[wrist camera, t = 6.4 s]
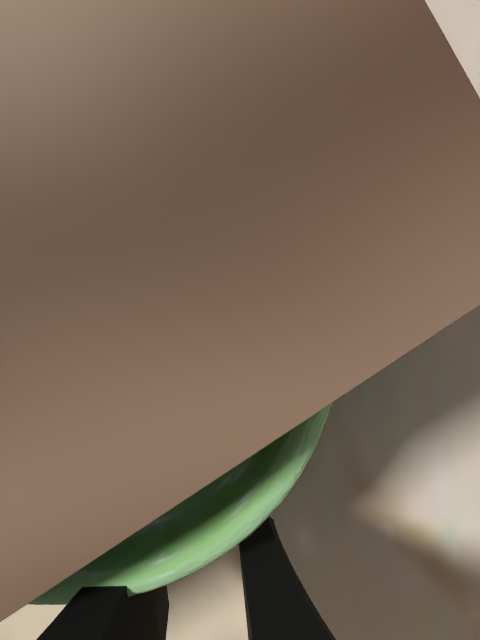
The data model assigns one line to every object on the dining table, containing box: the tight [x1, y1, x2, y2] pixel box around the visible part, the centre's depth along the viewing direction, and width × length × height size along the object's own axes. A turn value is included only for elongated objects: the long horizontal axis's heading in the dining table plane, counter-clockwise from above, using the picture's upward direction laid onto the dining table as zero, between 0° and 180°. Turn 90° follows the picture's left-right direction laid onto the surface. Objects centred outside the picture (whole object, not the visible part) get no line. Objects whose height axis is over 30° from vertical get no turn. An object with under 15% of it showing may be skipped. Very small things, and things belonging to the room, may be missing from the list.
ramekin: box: [28, 403, 332, 605], centre depth 8 cm, size 9×9×4 cm
